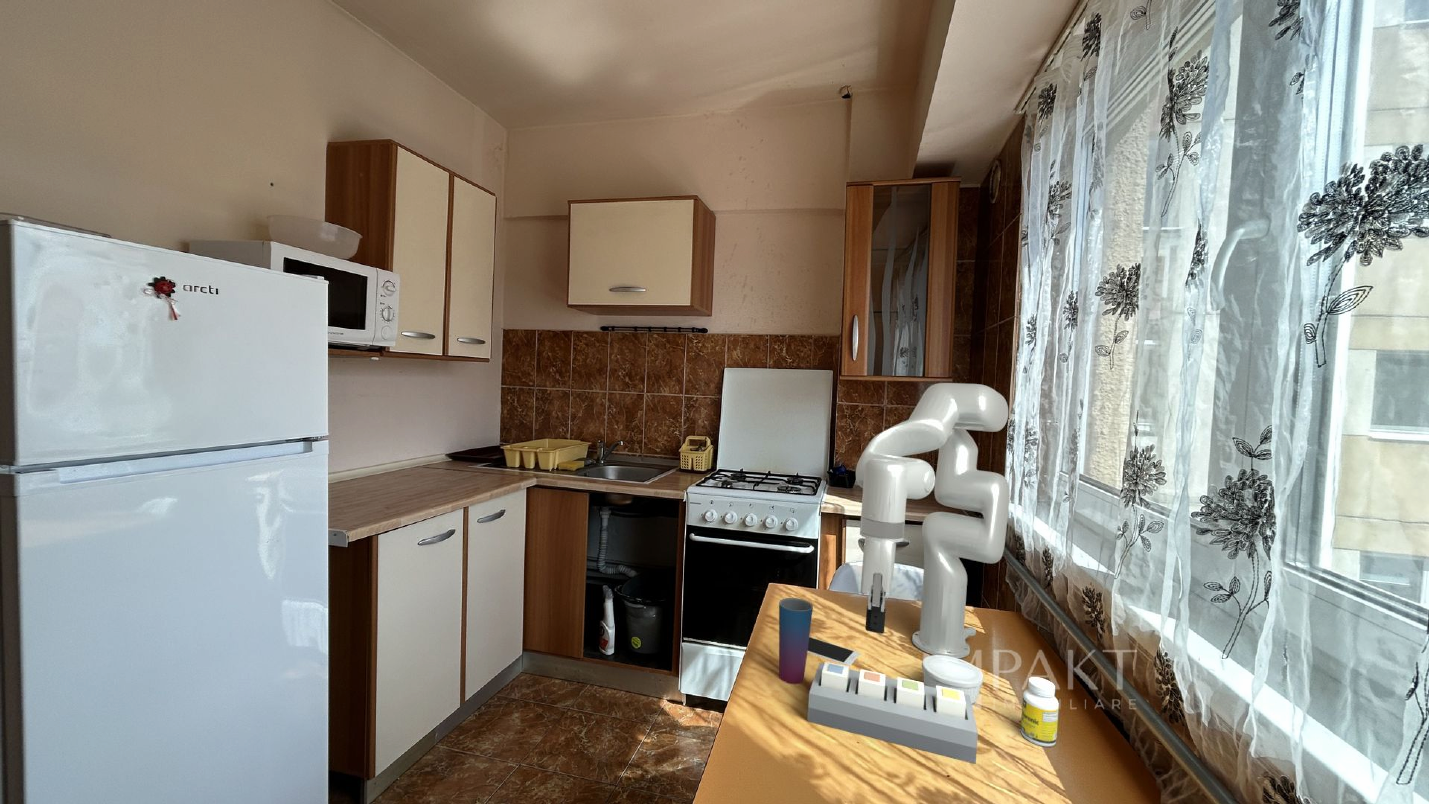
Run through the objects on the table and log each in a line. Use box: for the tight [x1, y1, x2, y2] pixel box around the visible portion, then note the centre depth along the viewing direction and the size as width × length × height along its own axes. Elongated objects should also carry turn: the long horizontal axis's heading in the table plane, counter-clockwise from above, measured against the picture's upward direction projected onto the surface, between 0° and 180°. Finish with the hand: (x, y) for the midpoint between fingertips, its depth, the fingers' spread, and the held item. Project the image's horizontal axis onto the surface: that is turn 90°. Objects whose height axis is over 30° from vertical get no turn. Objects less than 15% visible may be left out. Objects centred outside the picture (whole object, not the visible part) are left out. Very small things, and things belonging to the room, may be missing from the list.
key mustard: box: [935, 685, 966, 719], centre depth 95 cm, size 4×4×3 cm
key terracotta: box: [858, 668, 887, 701], centre depth 99 cm, size 4×4×3 cm
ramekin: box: [921, 654, 984, 705], centre depth 109 cm, size 11×11×5 cm
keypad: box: [807, 662, 979, 765], centre depth 98 cm, size 27×12×5 cm, turn 71°
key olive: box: [896, 676, 925, 710], centre depth 97 cm, size 4×4×3 cm
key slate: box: [821, 661, 850, 692], centre depth 102 cm, size 4×4×3 cm
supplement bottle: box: [1020, 676, 1060, 748], centre depth 96 cm, size 5×5×10 cm
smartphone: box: [807, 636, 861, 667], centre depth 125 cm, size 8×1×15 cm
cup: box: [778, 597, 814, 685], centre depth 112 cm, size 7×7×15 cm
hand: (874, 630), depth 99 cm, fingers closed
